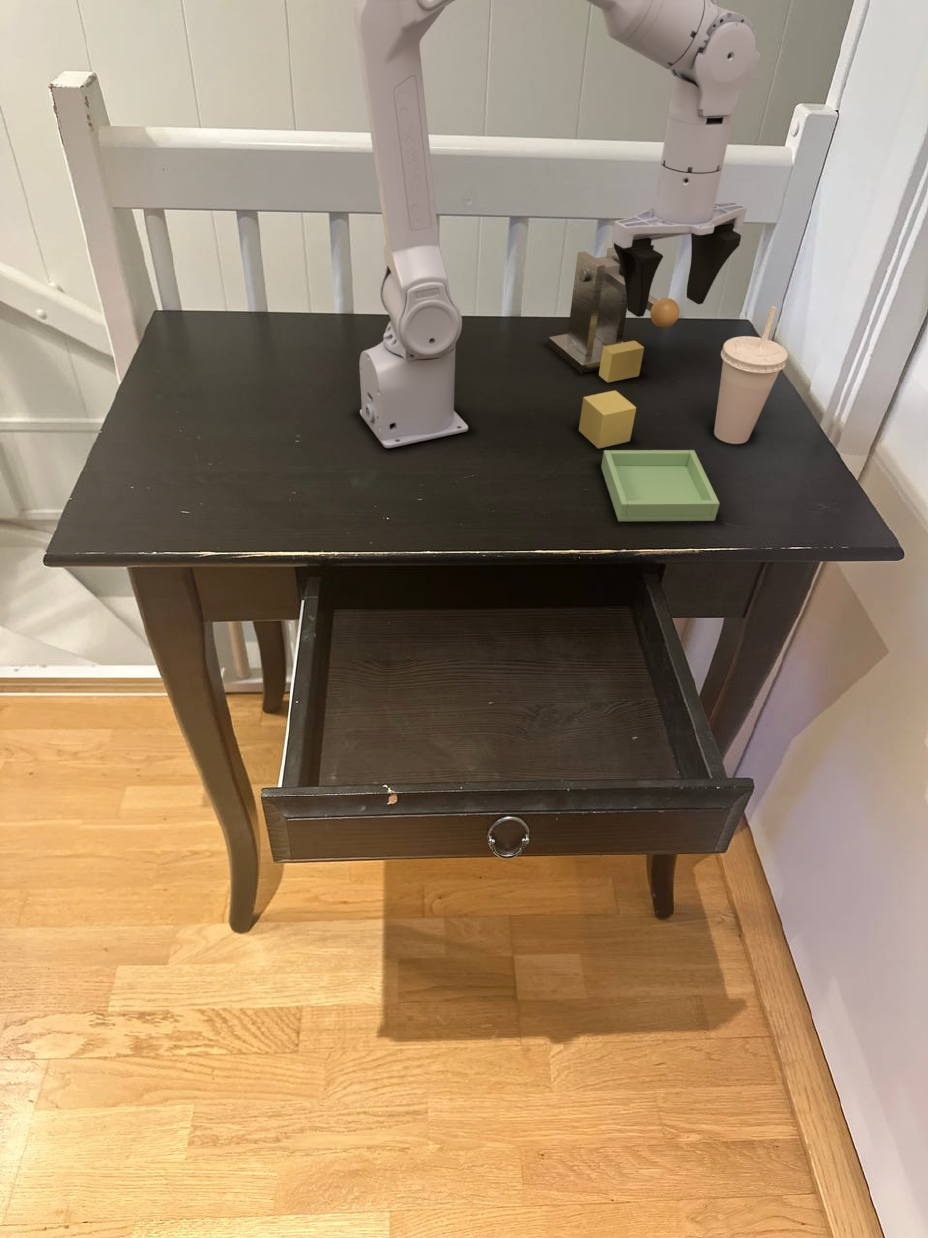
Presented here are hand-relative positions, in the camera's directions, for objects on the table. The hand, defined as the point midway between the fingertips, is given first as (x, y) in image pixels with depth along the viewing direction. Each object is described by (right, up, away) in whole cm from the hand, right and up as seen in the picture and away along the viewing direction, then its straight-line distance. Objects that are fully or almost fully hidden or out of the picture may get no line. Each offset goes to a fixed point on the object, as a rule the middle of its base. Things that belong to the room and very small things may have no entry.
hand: (665, 306), depth 88 cm
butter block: (-3, -4, +11) cm, 12 cm away
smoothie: (+8, -13, +2) cm, 15 cm away
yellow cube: (-6, -13, +1) cm, 15 cm away
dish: (-2, -21, -6) cm, 22 cm away
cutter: (-5, 0, +15) cm, 16 cm away
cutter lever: (-3, +2, +5) cm, 6 cm away
